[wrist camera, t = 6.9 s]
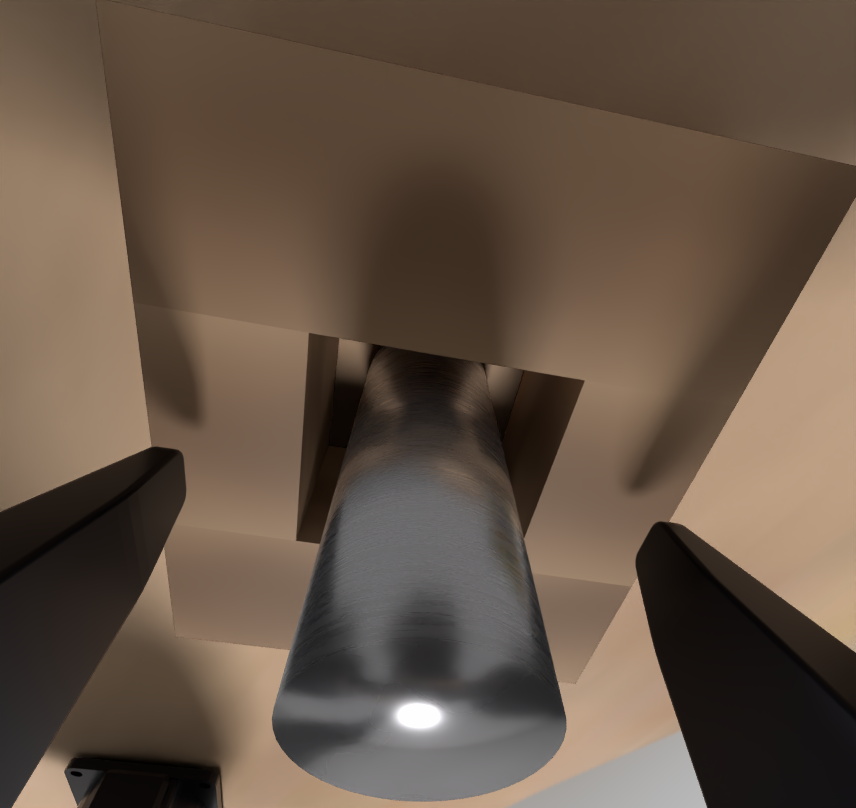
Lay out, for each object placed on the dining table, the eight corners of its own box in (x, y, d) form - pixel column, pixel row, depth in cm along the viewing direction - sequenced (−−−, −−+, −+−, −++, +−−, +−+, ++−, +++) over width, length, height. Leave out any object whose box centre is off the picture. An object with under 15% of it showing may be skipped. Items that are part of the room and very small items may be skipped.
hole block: (546, 574, 15) (575, 683, 12) (230, 531, 14) (175, 636, 11) (727, 162, 9) (870, 169, 6) (216, 50, 9) (95, -3, 5)
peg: (471, 442, 13) (519, 811, 6) (360, 425, 12) (270, 788, 5) (498, 340, 11) (610, 663, 4) (375, 318, 11) (275, 623, 4)
